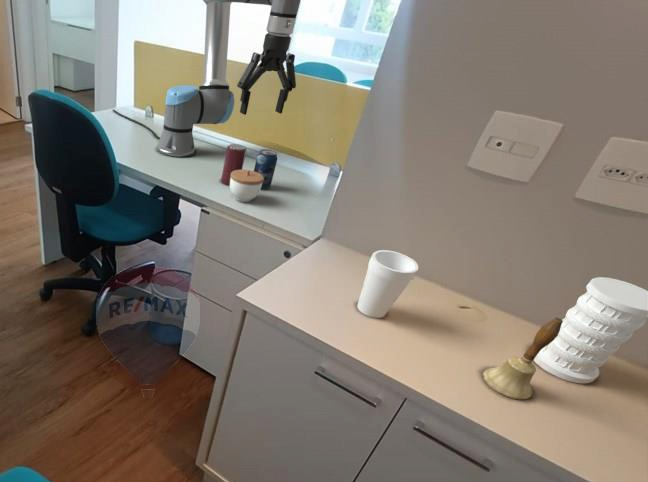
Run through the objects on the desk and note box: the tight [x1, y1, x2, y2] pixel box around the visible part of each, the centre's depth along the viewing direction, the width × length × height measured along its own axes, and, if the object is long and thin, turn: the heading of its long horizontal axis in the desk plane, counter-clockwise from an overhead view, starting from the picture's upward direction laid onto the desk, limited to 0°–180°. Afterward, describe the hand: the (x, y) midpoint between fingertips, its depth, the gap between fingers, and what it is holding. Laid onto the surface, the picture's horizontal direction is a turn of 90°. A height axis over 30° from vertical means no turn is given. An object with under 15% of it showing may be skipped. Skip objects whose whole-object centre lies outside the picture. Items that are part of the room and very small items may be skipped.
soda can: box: [253, 148, 278, 191], centre depth 154 cm, size 7×7×12 cm
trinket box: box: [229, 169, 264, 203], centre depth 146 cm, size 11×11×9 cm
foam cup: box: [356, 249, 419, 319], centre depth 99 cm, size 10×9×13 cm
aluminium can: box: [220, 143, 247, 187], centre depth 155 cm, size 7×7×12 cm
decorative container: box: [533, 276, 648, 384], centre depth 87 cm, size 12×12×18 cm
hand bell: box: [482, 317, 563, 400], centre depth 82 cm, size 8×8×16 cm
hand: (260, 113), depth 143 cm, fingers open, 13 cm apart
